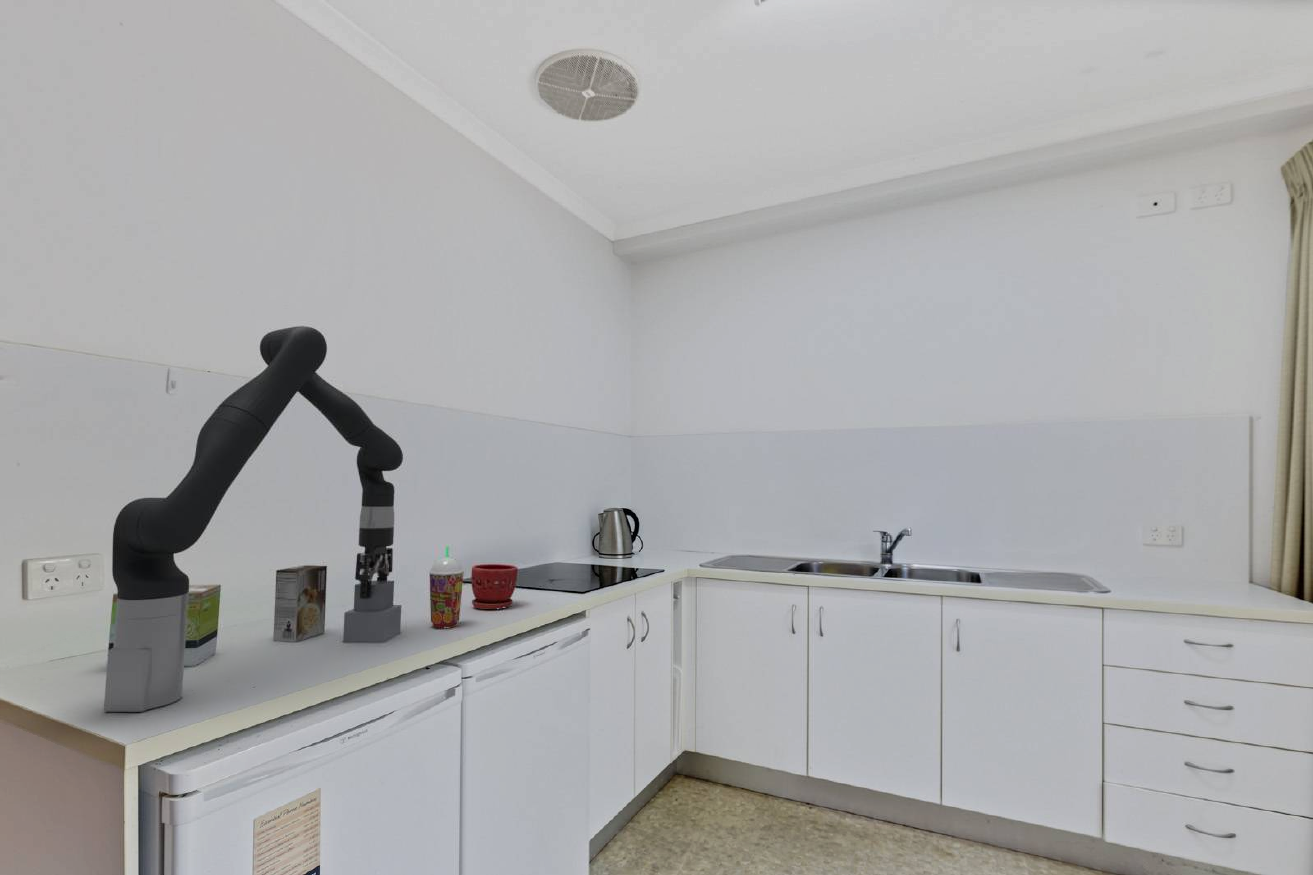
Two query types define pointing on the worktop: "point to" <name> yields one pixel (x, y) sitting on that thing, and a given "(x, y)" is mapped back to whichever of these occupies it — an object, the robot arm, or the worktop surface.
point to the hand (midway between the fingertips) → (373, 595)
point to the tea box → (193, 623)
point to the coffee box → (300, 603)
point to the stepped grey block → (373, 615)
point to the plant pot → (493, 585)
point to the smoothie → (445, 591)
